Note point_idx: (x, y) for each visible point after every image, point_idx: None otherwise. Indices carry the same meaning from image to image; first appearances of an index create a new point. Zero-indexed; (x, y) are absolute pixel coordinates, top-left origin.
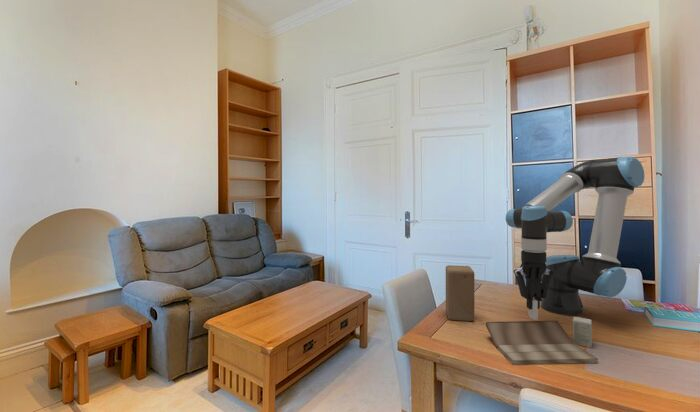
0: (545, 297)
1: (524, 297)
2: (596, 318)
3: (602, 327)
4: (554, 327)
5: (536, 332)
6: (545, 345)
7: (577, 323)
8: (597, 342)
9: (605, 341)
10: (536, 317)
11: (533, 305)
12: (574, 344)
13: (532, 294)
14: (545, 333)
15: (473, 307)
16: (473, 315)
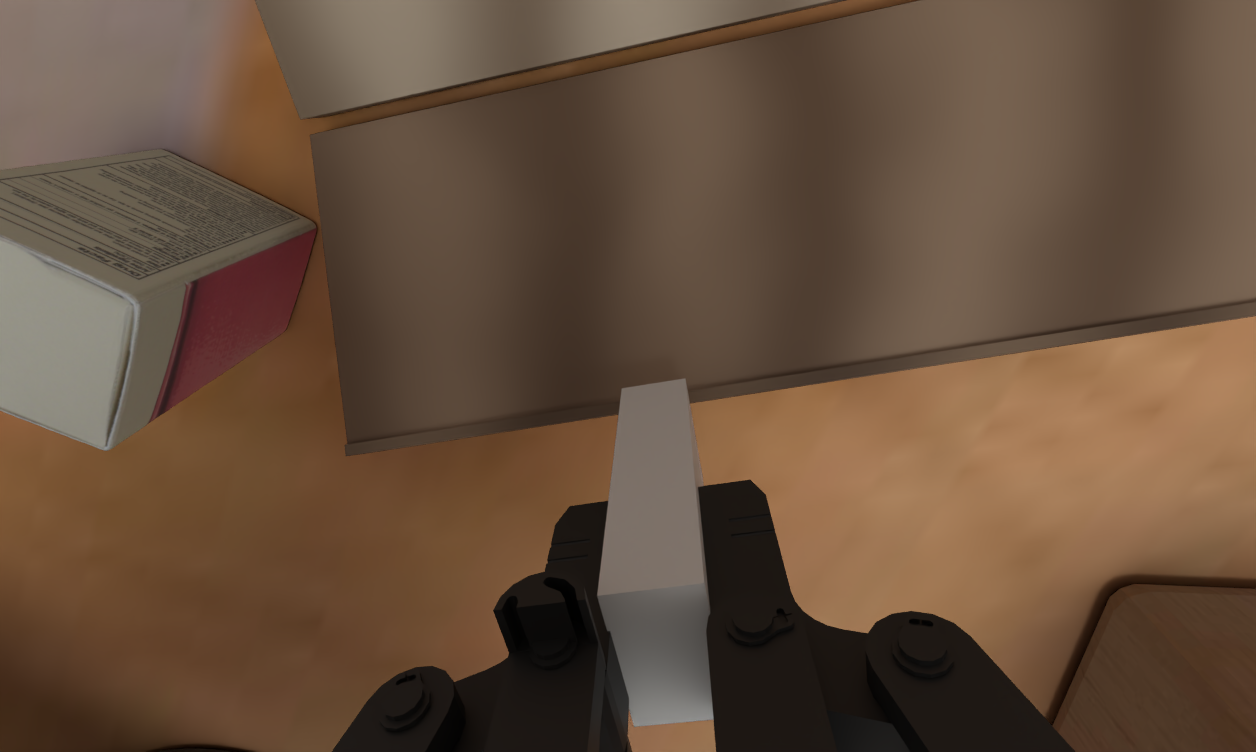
0: (382, 691)
1: (960, 645)
2: (25, 717)
3: (3, 579)
4: (430, 340)
5: (684, 226)
6: (659, 3)
7: (103, 258)
8: None
9: None
10: (636, 399)
11: (696, 508)
12: (313, 97)
13: (741, 741)
14: (577, 228)
15: (1240, 710)
16: (1164, 628)
